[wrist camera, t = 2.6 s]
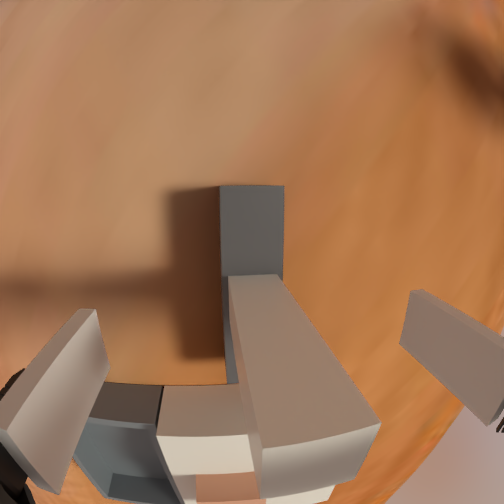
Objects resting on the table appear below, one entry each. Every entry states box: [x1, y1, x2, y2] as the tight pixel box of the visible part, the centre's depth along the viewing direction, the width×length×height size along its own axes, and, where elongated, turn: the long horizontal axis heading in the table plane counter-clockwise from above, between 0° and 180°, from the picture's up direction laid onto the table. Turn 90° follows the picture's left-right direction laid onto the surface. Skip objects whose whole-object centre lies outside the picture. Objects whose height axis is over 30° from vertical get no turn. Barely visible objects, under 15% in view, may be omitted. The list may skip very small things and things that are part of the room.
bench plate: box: [156, 384, 335, 504], centre depth 18 cm, size 14×13×5 cm
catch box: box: [73, 382, 185, 504], centre depth 17 cm, size 14×9×4 cm, turn 1°
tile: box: [196, 471, 266, 504], centre depth 14 cm, size 4×4×2 cm
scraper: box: [219, 186, 382, 499], centre depth 11 cm, size 11×3×13 cm, turn 1°
